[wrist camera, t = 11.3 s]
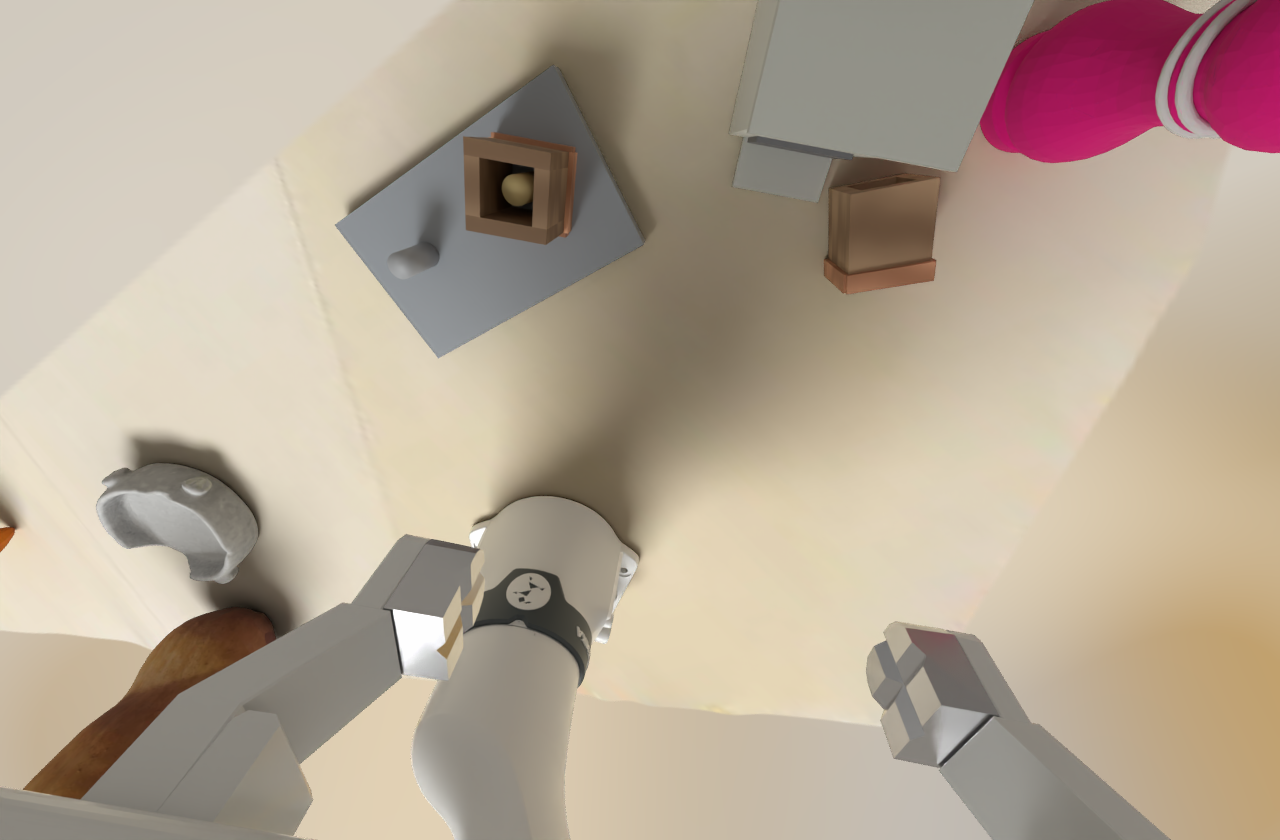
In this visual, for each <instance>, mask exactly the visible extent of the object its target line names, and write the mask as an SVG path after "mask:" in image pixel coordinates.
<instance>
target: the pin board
mask: <svg viewBox="0 0 1280 840" xmlns="http://www.w3.org/2000/svg"><path fill="white" fill-rule="evenodd" d="M491 132H497V133H502V134H508V135H513V136H518V137H524V138H529V139H534V140H540V141H545V142H551V143H556V144H561V145H567V146H572V147H576V149H575V152H576V153H577V164H576V177H575V189H574V202H573V214H572V227H571V231H570V232H569V235H568V236H567V237H565V238H564V237H559V236H558V237H557V238H555V239H554V240H552V241H551V242H550V243H548V244H547V245H543V244H537V243H532V242H527V241H521V240H516V239H510V238H505V237H500V236H494V235H489V234H483V233H478V232H473V231H467V230H466V222H465V187H464V152H463V136H465V137H486V138H489V137H491ZM533 192H534V168H533V167H527V166H522V165H517V164H512V174H511V175H509V176H507V177H506V178H505V179H504V181H503V183H502V193H503V196H504V198H505V199H506V201H507V202H508V203H510V204H511V205H512V207H517V208H522V209H528V210H533ZM335 226H336V227H337V229H338V230H339V231H340V232H341V234H342V235H343V236H344V238H345V239H346V240H347V241H348V243H349V244H350V245H351V247H352V248H353V249H354V250H355V252H356V253H357V254H358V256H359V257H360V258H361V259H362V261H363V262H364V263H365V265H366V266H367V267H368V268H369V270H370V271H371V272H372V274H373V275H374V276H375V277H376V279H377V280H378V281H379V283H380V284H381V285H382V286H383V288H384V289H385V290H386V292H387V293H388V294H389V295H390V297H391V298H392V299H393V301H394V302H395V303H396V304H397V306H398V307H399V308H400V310H401V311H402V312H403V313H404V315H405V316H406V317H407V319H408V320H409V321H410V322H411V324H412V325H413V326H414V328H415V329H416V330H417V331H418V333H419V334H420V335H421V337H422V338H423V339H424V340H425V342H426V343H427V344H428V346H429V347H430V348H431V349H432V351H433V352H434V353H435V355H436V356H437V357H438V358H440V357H441V356H443V355H445V354H447V353H449V352H451V351H452V350H454V349H456V348H458V347H460V346H461V345H463V344H465V343H467V342H469V341H470V340H472V339H474V338H476V337H478V336H479V335H481V334H483V333H485V332H487V331H489V330H490V329H492V328H494V327H496V326H498V325H499V324H501V323H503V322H505V321H507V320H508V319H510V318H512V317H514V316H516V315H517V314H519V313H521V312H523V311H525V310H526V309H528V308H530V307H532V306H534V305H536V304H537V303H539V302H541V301H543V300H545V299H546V298H548V297H550V296H552V295H554V294H555V293H557V292H559V291H561V290H563V289H564V288H566V287H568V286H570V285H572V284H573V283H575V282H577V281H579V280H581V279H583V278H584V277H586V276H588V275H590V274H592V273H593V272H595V271H597V270H599V269H601V268H602V267H604V266H606V265H608V264H610V263H611V262H613V261H615V260H617V259H619V258H621V257H622V256H624V255H626V254H628V253H630V252H631V251H633V250H635V249H637V248H639V247H640V246H642V245H644V243H645V239H644V237H643V235H642V233H641V231H640V229H639V227H638V225H637V223H636V221H635V219H634V217H633V215H632V213H631V211H630V209H629V207H628V205H627V203H626V201H625V199H624V197H623V195H622V193H621V191H620V189H619V187H618V185H617V183H616V181H615V179H614V177H613V175H612V173H611V171H610V169H609V167H608V165H607V163H606V161H605V159H604V157H603V155H602V153H601V151H600V149H599V147H598V145H597V143H596V141H595V139H594V137H593V135H592V133H591V131H590V129H589V127H588V125H587V123H586V121H585V119H584V117H583V115H582V113H581V111H580V109H579V107H578V105H577V103H576V101H575V99H574V97H573V95H572V93H571V91H570V89H569V87H568V85H567V83H566V81H565V79H564V77H563V75H562V73H561V72H560V70H559V68H558V67H556V66H555V65H552V66H551V67H549V68H548V69H547V70H545V71H544V72H543V73H541V74H540V75H539V76H537V77H536V78H534V79H533V80H532V81H530V82H529V83H528V84H526V85H525V86H524V87H522V88H521V89H519V90H518V91H517V92H515V93H514V94H513V95H511V96H510V97H509V98H507V99H506V100H504V101H503V102H502V103H500V104H499V105H498V106H496V107H495V108H494V109H492V110H491V111H489V112H488V113H487V114H485V115H484V116H483V117H481V118H480V119H479V120H477V121H476V122H474V123H473V124H472V125H470V126H469V127H468V128H466V129H465V130H464V131H462V132H461V133H459V134H458V135H457V136H455V137H454V138H453V139H451V140H450V141H449V142H447V143H446V144H445V145H443V146H442V147H440V148H439V149H438V150H436V151H435V152H434V153H432V154H431V155H430V156H428V157H427V158H425V159H424V160H423V161H421V162H420V163H419V164H417V165H416V166H415V167H413V168H412V169H410V170H409V171H408V172H406V173H405V174H404V175H402V176H401V177H400V178H398V179H397V180H395V181H394V182H393V183H391V184H390V185H389V186H387V187H386V188H385V189H383V190H382V191H380V192H379V193H378V194H376V195H375V196H374V197H372V198H371V199H370V200H368V201H367V202H365V203H364V204H363V205H361V206H360V207H359V208H357V209H356V210H355V211H353V212H352V213H350V214H349V215H348V216H346V217H345V218H344V219H342V220H341V221H340V222H338V223H337V224H335Z"/></svg>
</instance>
